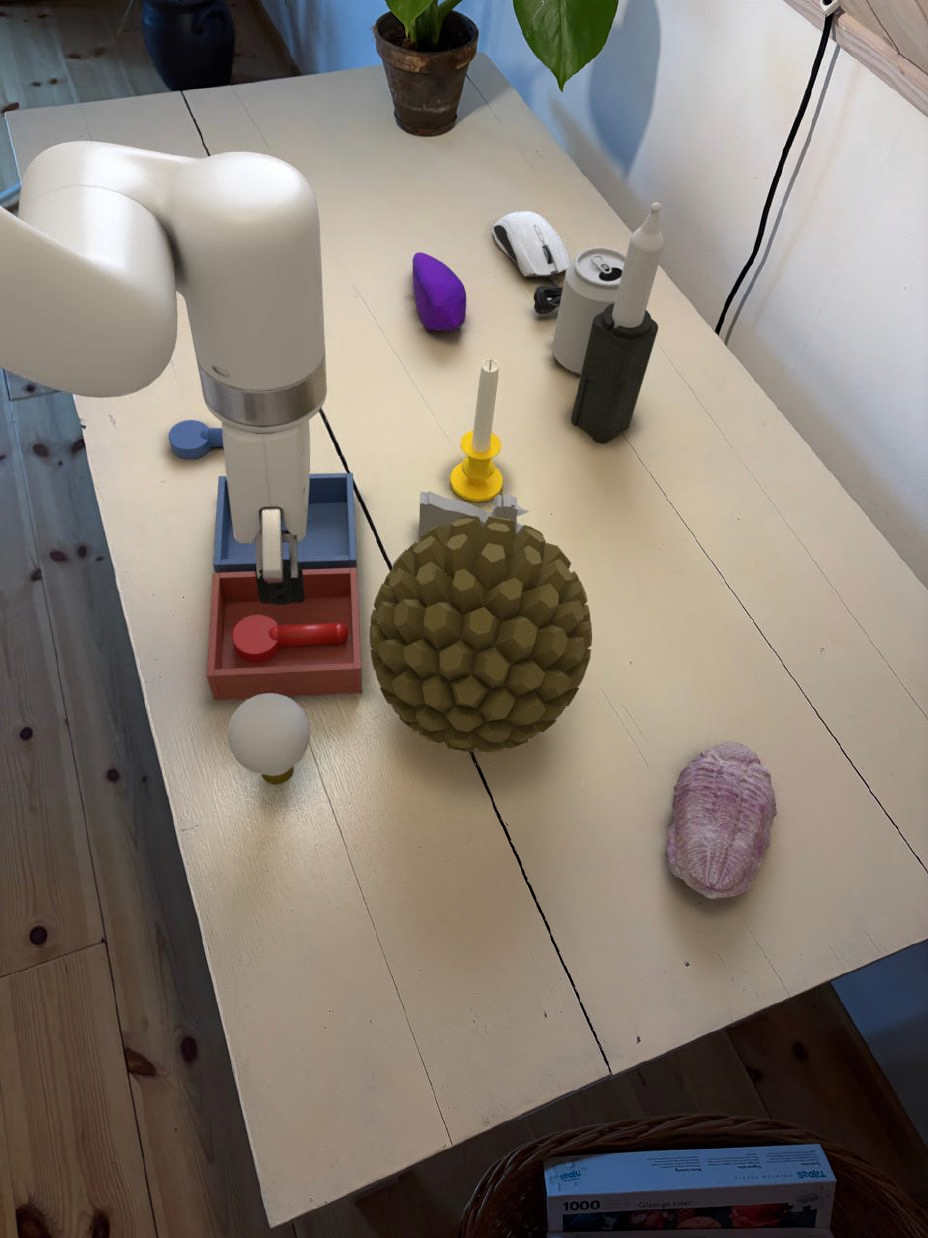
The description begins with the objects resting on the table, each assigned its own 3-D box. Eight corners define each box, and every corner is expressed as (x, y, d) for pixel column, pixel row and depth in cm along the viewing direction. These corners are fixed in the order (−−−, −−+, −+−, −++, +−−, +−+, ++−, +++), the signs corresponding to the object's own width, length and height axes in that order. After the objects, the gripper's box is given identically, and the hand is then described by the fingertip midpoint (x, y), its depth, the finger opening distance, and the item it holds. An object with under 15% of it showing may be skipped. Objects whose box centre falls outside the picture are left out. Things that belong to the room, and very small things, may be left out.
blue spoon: (271, 428, 95) (269, 415, 94) (270, 457, 93) (268, 444, 92) (172, 430, 94) (169, 417, 93) (169, 459, 92) (166, 446, 91)
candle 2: (566, 418, 99) (614, 198, 78) (599, 397, 101) (654, 178, 80) (601, 446, 97) (660, 228, 76) (634, 424, 99) (699, 206, 79)
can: (583, 390, 102) (604, 296, 92) (536, 351, 105) (552, 257, 95) (631, 362, 105) (657, 269, 95) (585, 326, 108) (605, 231, 98)
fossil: (641, 890, 72) (657, 866, 67) (685, 736, 79) (701, 706, 75) (746, 931, 70) (769, 909, 66) (780, 771, 78) (802, 742, 74)
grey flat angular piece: (419, 530, 90) (524, 535, 90) (418, 542, 89) (524, 546, 89) (420, 490, 85) (531, 495, 85) (419, 502, 84) (531, 507, 84)
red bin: (213, 700, 78) (206, 676, 75) (219, 599, 83) (212, 572, 80) (362, 693, 79) (361, 668, 76) (358, 593, 85) (356, 567, 82)
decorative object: (394, 599, 85) (396, 441, 68) (579, 633, 84) (627, 482, 68) (349, 767, 75) (340, 632, 59) (557, 807, 75) (607, 682, 58)
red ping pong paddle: (347, 619, 83) (347, 607, 81) (349, 658, 80) (348, 647, 79) (234, 624, 82) (232, 612, 80) (233, 664, 79) (230, 652, 78)
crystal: (436, 232, 109) (477, 302, 100) (436, 270, 113) (475, 342, 104) (396, 237, 108) (434, 309, 99) (397, 276, 112) (433, 348, 103)
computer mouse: (537, 215, 119) (541, 185, 116) (612, 302, 110) (619, 273, 107) (466, 232, 116) (469, 202, 113) (538, 323, 107) (543, 293, 104)
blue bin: (219, 592, 84) (213, 565, 81) (224, 504, 90) (218, 475, 86) (357, 586, 85) (356, 559, 82) (353, 500, 91) (352, 472, 88)
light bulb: (326, 752, 76) (319, 691, 68) (299, 818, 73) (288, 763, 65) (258, 731, 77) (243, 668, 68) (227, 795, 73) (208, 738, 65)
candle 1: (501, 505, 92) (520, 383, 79) (448, 500, 92) (458, 377, 79) (503, 465, 95) (522, 341, 82) (451, 460, 95) (462, 336, 82)
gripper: (208, 279, 61) (237, 462, 75) (189, 479, 52) (227, 645, 66) (325, 281, 62) (332, 461, 76) (327, 478, 53) (335, 642, 67)
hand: (283, 546), depth 71 cm, fingers open, 9 cm apart
